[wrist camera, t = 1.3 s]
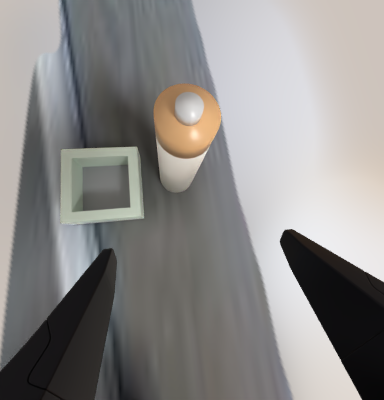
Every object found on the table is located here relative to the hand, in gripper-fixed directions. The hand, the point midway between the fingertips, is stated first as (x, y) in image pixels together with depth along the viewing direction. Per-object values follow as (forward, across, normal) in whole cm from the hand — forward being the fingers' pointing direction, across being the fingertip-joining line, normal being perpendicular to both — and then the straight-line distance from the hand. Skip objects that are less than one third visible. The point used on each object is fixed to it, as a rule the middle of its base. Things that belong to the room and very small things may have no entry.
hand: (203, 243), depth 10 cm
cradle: (+14, +8, +5) cm, 17 cm away
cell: (+15, 0, +4) cm, 15 cm away
